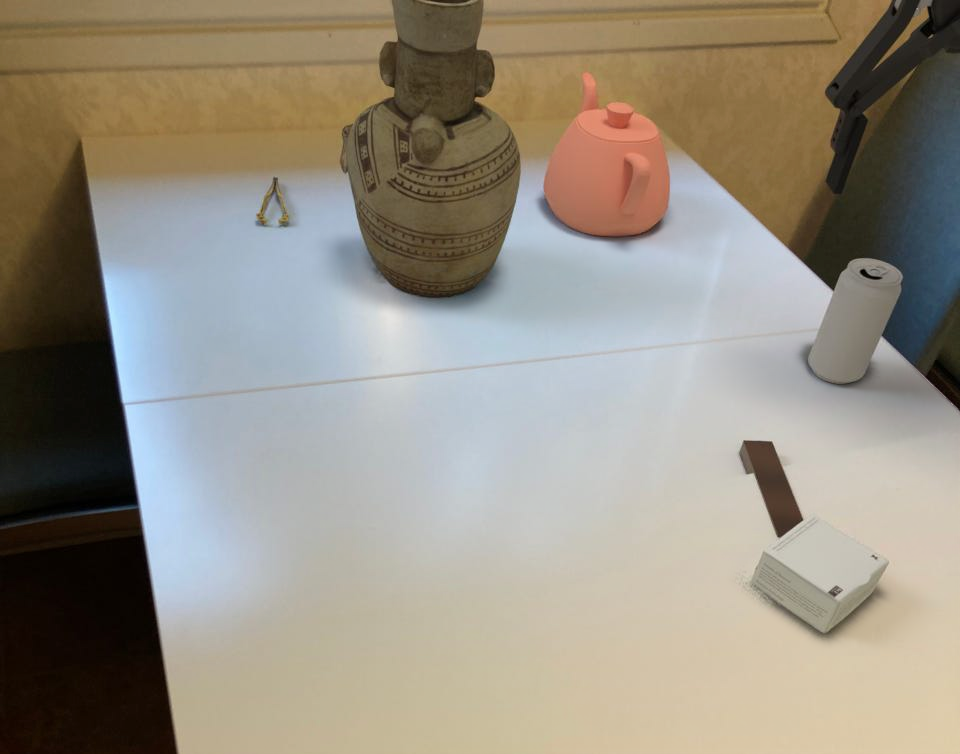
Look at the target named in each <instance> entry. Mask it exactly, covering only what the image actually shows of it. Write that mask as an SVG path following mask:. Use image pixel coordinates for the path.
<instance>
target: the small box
mask: <svg viewBox="0 0 960 754" xmlns="http://www.w3.org/2000/svg"><path fill="white" fill-rule="evenodd" d="M889 563H890V561H889V560H888V559H887V558H886V557H885V556H883V555H881V554H880V553H878V552H877V551H875V550H873V549H872V548H871V547H870V546H867V545H866V544H864V543H862V542H860V540H857V539H856V538H854V537H852V536H851V535H849V534H847V533H846V532H844V531H843V530H841V529H839V528H837V527H836V526H834V525H833V524H831V523H829V522H828V521H826V520H825V519H823V518H821V517H820V516H819V515H816V514H815V513H811V514H810V515H808V516H807V517H806V518H803V521H802V522H800V523H799V524H798V525H796V526H795V527H794V528H793V529H791V530H790V531H789V532H787V533H786V534H785V535H783V536H782V537H781V538H777V540H775V541H774V542H773V543H772V544H770V545H769V546H768V547H766V548H765V549H764V550H763V551H762V552H761V556H760V558H759V561H758V563H757V565H756V567H755V569H754V573H753V575H752V578H751V580H750V582H749V583H750V584H751V585H752V586H753V587H755V588H756V589H758V590H759V591H760V592H762V593H763V594H765V595H766V596H767V597H769V598H770V599H772V600H773V601H774V602H776V603H778V604H779V605H780V606H782V607H783V608H784V609H786V610H787V611H789V612H791V614H793V615H795V616H796V617H798V618H799V619H800V620H802V621H803V622H805V623H807V624H808V625H810V627H813V628H814V629H815V630H818V631H819V632H821V633H822V634H827V633H828V632H829V631H830V630H832V629H834V628H835V627H836V626H837V625H838V624H839V623H840V622H842V621H843V620H844V619H845V618H846V617H848V616H849V615H850V614H851V613H852V612H853V611H854V610H856V609H857V608H858V607H859V606H860V605H861V604H862V603H863V602H864V601H865V600H867V599H868V598H869V597H870V596H871V595H872V594H873V592H874V590H875V589H876V587H877V585H878V583H879V581H880V580H881V578H882V576H883V574H884V573H885V571H886V570H887V567H888V566H889Z"/></svg>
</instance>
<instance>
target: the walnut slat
mask: <svg viewBox="0 0 960 754" xmlns="http://www.w3.org/2000/svg"><path fill="white" fill-rule="evenodd" d="M739 455H740V458H741V460H742V463H743V466H744V469H745V471H746V475H752V474H753V475H754V478H755V479H756V480H755V481H756V483H757V486H758V488H759V491H760V493H761V497H762V499H763V502H764V505H765V507H766V510H767V513H768V516H769V518H770V521H771V524H772V527H773V530H774V533H775V535H776V537H777V539H779V538H781V537H782V536H783V535H785V534H786V533H787V532H789V531H790V530H791V529H793V528H794V527H795V526H796V525H798V524H799V523H800V522H802V521H803V520H804V517H803V516H802V512H801V510H800V507H799V505H798V502H797V500H796V497H795V495H794V492H793V490H792V487H791V485H790V482H789V480H788V477H787V476H786V472H785V470H784V468H783V464H782V463H781V460H780V457H779V455H778V453H777V450H776V447H775V445H774V443H773V441H771V440H751V439H750V440H749V439H747V440H745V439H744V440H742V443H741V446H740V449H739Z"/></svg>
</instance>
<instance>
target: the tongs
mask: <svg viewBox="0 0 960 754" xmlns="http://www.w3.org/2000/svg"><path fill="white" fill-rule="evenodd" d="M274 192H276V195H277V197H278V199H279V202H280V208H281V210H282V213H283V216H281V217H280V218H278V219H277V222H278V224H279V225H280V226H281V227H284V226H285V225H286V223H287V222H288V221H289V220H290V218H291V217H290V216H291V215H290V214H288V212H287V208H286V204H285V200H284V199H285V198H284V195H283V192H282V191H281V189H280V186H279V178H278V176H276V177H275V176H273V178H272V183H271V186H270V188H269V189H268V191H266V192H265V194H264V195H263V199H262V203H261V205H260V209H259V212H257V213H256V214H255V217H256V219H257V221H259V222H260V224H261V225H262V226H266V225H267V224H268V221H269V220H268V218H266V217H265V211H266V210H267V209H268V203H269V201H270V198H271V197H272V195H274Z"/></svg>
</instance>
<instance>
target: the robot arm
mask: <svg viewBox="0 0 960 754" xmlns="http://www.w3.org/2000/svg"><path fill="white" fill-rule="evenodd" d="M924 8H926V10H927V15H928V17H927V18H926V19H925V20H924V21H922V22H921V24H919V25H918V26H917V27H916V28H915V29H914V30H912V32H911V33H910V35H909V37H908V39H907V40H905V41H904V42H903V43H902V44H900V46H898V47H897V48H896V49H895V50H894V51H893V52H892V53H891V54H889V56H887V57H886V58H885V59H884V60H883V61H882V62H880V61H881V60H882V59H883V58H884V57H885V55H886V54H887V53H888V52H889V50H890V49H891V48H892V46H893V45H895V44H896V42H897V40H899V38H900V37H901V35H902V34H903V33H904V32H905V30H906V29H907V27H908V26H909V24H910V23H911V21H912V19H914V18H916V17H918V16H919V15H921V12H922V10H924ZM940 51H944V52H945V53H946V54H953V55H954V54H955V55H957V54H960V0H891V1H890V4H889V6H888V8H887V9H886V11H885V12H884V14H883V15H882V16H881V17H880V18H879V20H878V21H877V22H876V23H875V25H874V26H873V28H872V29H871V30H870V31H869V33H868V34H867V35H866V37H865V38H864V39H863V40H862V41H861V43H860V44H859V45H858V47H857V48H856V49H855V51H853V53H852V54H851V56H850V57H849V58H848V59H847V61H846V62H845V63H844V65H843V66H842V67H841V68H840V70H839V71H838V72H837V73H836V75H835V76H834V77H833V79H832V80H831V81H830V83H829V84H828V85H827V86H826V88H825V89H824V96H825V97H826V99H827V100H828V101H829V102H830V104H831V105H832V106H833V107H834V108H835V109H839V114H838V117H837V120H836V122H835V126H834V129H833V131H832V135H831V138H830V141H829V143H830V144H829V145H830V149H832V151H833V153H834V155H833V158H832V162H831V164H830V167H829V169H828V173H827V176H826V178H825V181H824V182H825V183H826V184H827V186H828V188H829V189H830V191H831V192H832V193H833V194H834V195H842V194H843V192H844V188H845V186H846V183H847V181H848V178H849V175H850V172H851V169H852V167H853V164H854V161H855V158H856V155H857V154H858V150H859V147H860V146H861V145H860V144H861V141H862V139H863V136H864V133H865V131H866V128H867V125H868V123H869V118H867V117H866V115H865V114H864V113H865V112H866V111H867V110H868V109H869V108H870V107H872V106H873V105H874V104H875V103H877V102H878V101H879V100H880V99H881V98H882V97H883V96H884V95H886V94H887V93H888V92H889V91H890V90H891V89H893V88H894V87H895V86H896V85H897V84H899V83H900V82H901V81H902V80H903V79H904V78H905V77H906V76H907V75H909V74H910V73H911V72H912V71H913V70H915V69H916V68H917V67H918V66H920V64H921V63H923V62H925V60H927V59H930V58H933V57H934V56H936V54H938V53H939V52H940Z"/></svg>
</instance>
